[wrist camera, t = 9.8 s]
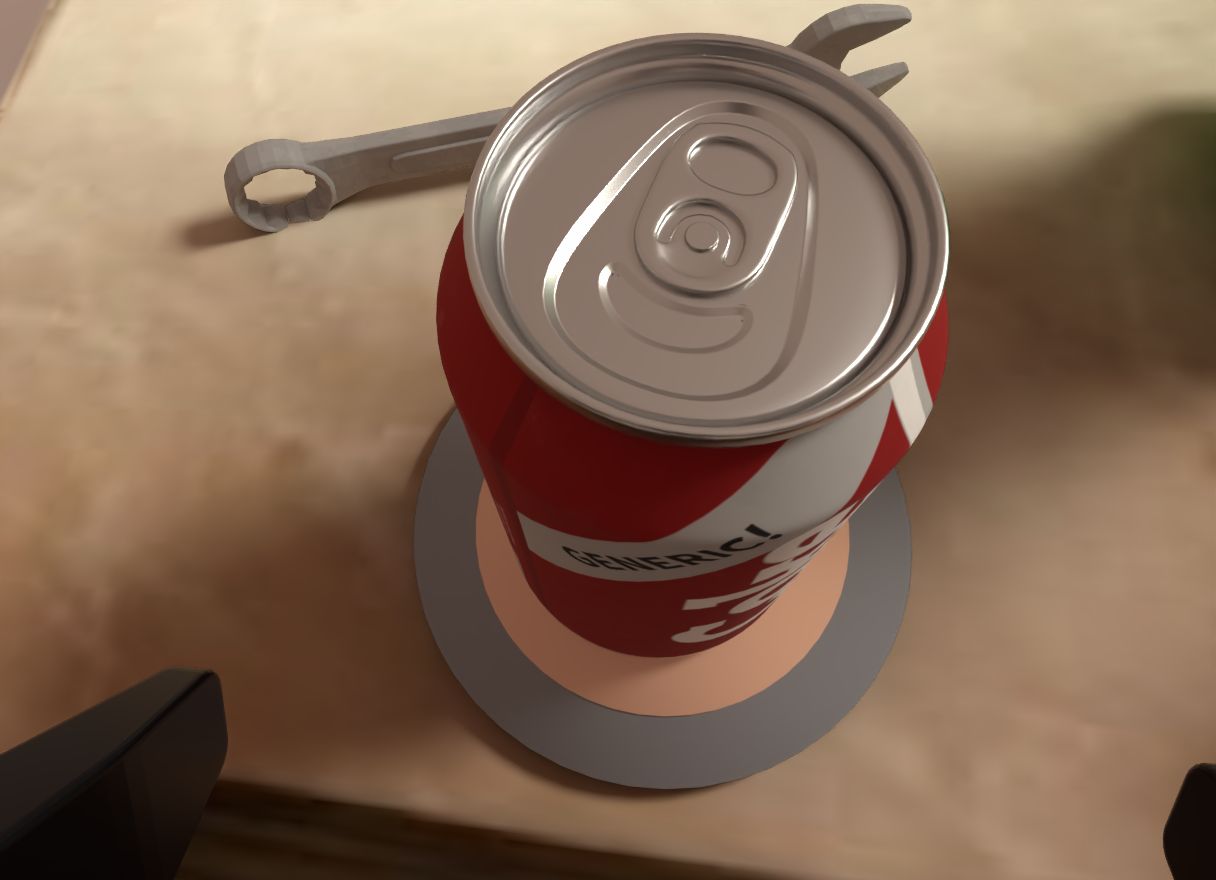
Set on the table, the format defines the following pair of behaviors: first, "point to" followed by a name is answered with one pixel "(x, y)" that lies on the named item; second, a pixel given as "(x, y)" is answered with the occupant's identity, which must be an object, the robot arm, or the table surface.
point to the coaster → (646, 687)
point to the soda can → (691, 328)
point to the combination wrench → (486, 132)
